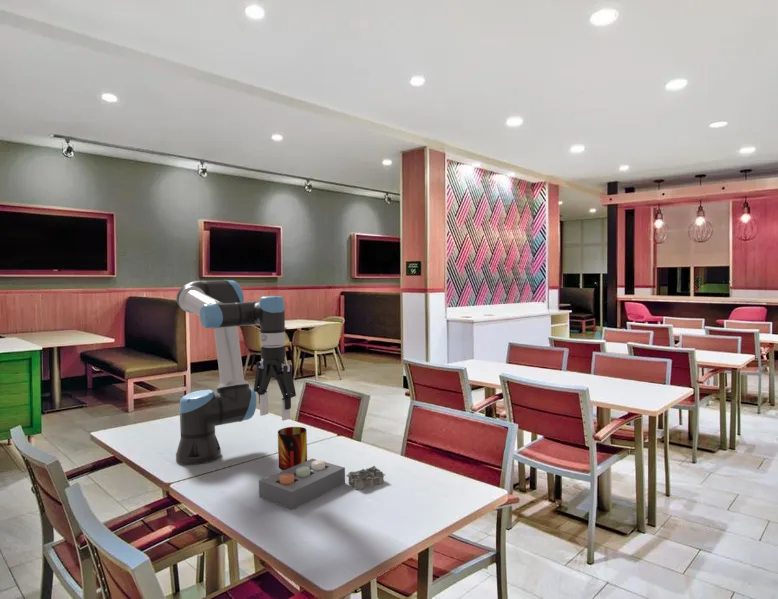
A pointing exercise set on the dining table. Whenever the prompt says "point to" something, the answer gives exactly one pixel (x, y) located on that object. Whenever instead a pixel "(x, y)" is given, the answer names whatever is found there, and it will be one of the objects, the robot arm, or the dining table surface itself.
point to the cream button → (318, 465)
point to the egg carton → (365, 477)
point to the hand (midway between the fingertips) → (275, 416)
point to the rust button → (286, 479)
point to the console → (301, 485)
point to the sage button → (303, 472)
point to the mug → (292, 447)
